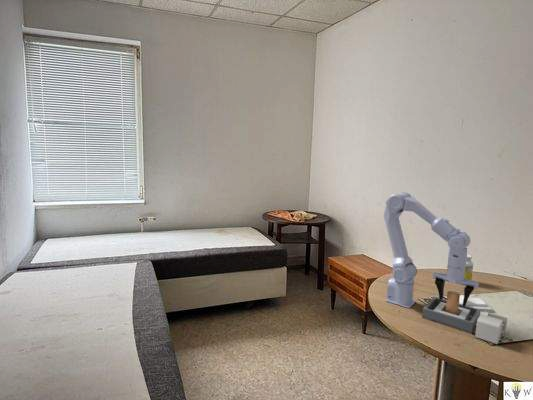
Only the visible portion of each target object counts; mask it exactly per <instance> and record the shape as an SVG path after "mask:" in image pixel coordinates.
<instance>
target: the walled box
mask: <svg viewBox="0 0 533 400" xmlns="http://www.w3.org/2000/svg"><path fill="white" fill-rule="evenodd" d="M446 301H447V299H444V298H443V299H442V300H441V299H439V297H437V296H433V297H432V298H431V300H430V301H429V302H427V304H426V305H425V306H424V307H422V319H426V320H429V321H432V322H436V323H438V324H442V325H445V326H448V327H451V328H455V329H458V330H461V331H463V332H468V333H470V334H473V332H474V331H475V329H476V327H477V325H476V324H477V320H478V318H479V317H480V315H481V313H482V311H481V309H477V308H473V307H470V306H466V305H465V306H463V305H462V304H459V307H458V315H454V314H451V313H448V312H445V311H446ZM475 326H476V327H475Z"/></svg>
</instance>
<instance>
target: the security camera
mask: <svg viewBox="0 0 533 400" xmlns="http://www.w3.org/2000/svg"><path fill="white" fill-rule="evenodd" d="M508 319H509V318H508V317H506V316H502V315H498V314H495V313H493V312H487V315H486V314H481V313H480V317H479V318H478V320H477V325H476V327H475V335H474V337H475V338H477V339H480V340H483V341H485V342H489V343H492V344H494V345H495V344H496V345H498V344H499V342H500V339H501V337H502V336H501V335H506V332H507V325H508Z"/></svg>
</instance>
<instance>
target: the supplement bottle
mask: <svg viewBox="0 0 533 400" xmlns="http://www.w3.org/2000/svg"><path fill="white" fill-rule="evenodd" d="M472 257H473V256H472V255H470V254H467V260H466V269H465V277H464V278H466V279H469V280H472V279H473V277H472V276H473V269H474V262H473V261H472Z"/></svg>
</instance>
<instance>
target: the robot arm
mask: <svg viewBox="0 0 533 400" xmlns="http://www.w3.org/2000/svg"><path fill="white" fill-rule="evenodd" d="M385 204H386V205H385V207H384V208H385V209H384V212H383V213H384V214H383V218H384V222H385V227H386V230H387V231H386V232H387V234H388V235H387V236H388V239H389V242H390V245H391V250H392V254H393V258H394V259H393V263H392V268H393V270H392V277H390V278H389V279H388V282H387V289H386V299H385V301H386V302H387V303H390V304H395V305H397V306H401V307H404V308H407V309H410V308H411V307H412V306H413V305H415V304H416V303H417V302H416V300H415V299H413V298H414V297H413V296H414V287H415V280H414V279H415V277H416V276H417V273H418V269H417V266H416V265H415V264H414V262H413V259H412V258H411V257H410V255H409V253H408V249H407V245H406V242H405V238H404V233H403V230H402V227H401V222H400V217H401V215H402V213H403V212H413V213H414V214H416V215H417V216H418V217H420V218H421V219H422V220H424V221H425V222H427V224H429V225H430V226H431V228H430V229H431V230H432V232H434V233H435V234H436V235H438V236H439V237H441V239H442V240H444V241H445V242H447V246H448V248H449V250H448V251H449V252H448V259H447V266H446V267H447V268H446V273H442V272H437V271H434V272H433V273H432V279H434V284H435V287H436V288H437V291H438V298H439V299H441V300H442V299H444V290H445V283H446V282H448V283H449V282H450V283H453V284H457V285H461V286H465V287H464V289H463V295H464V300H463V306H465V305H466V303H467V300H468V298H469V297H470V296H471V294H472V292H473V291H474V289H475V290H478V289H479V284H480V283H479V282H478V281H475V280H472V279H471V280H469V279H466V278H464V277H465V269H466V260H467V255H468V247H469V245H470V244H471V238H470V236H469V235H468V234H467V233H466V231H461V229H460V228H457V227H455V226H453V225H452V224H451V223H450V220H449V219H447V218H443V217H438V216H436V215H435V214H433V213H432V212H431V211H430V210H429V209H428V208H426V206H424V205H423V204H422V203H421V202H420V201H419V200H418V199H417V198H416V197H414V196H412V195H411V194H410V193H408V192H401V193H393V194H391V195H390V196H389V197H388V198H387V199H386V200H385Z"/></svg>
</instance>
